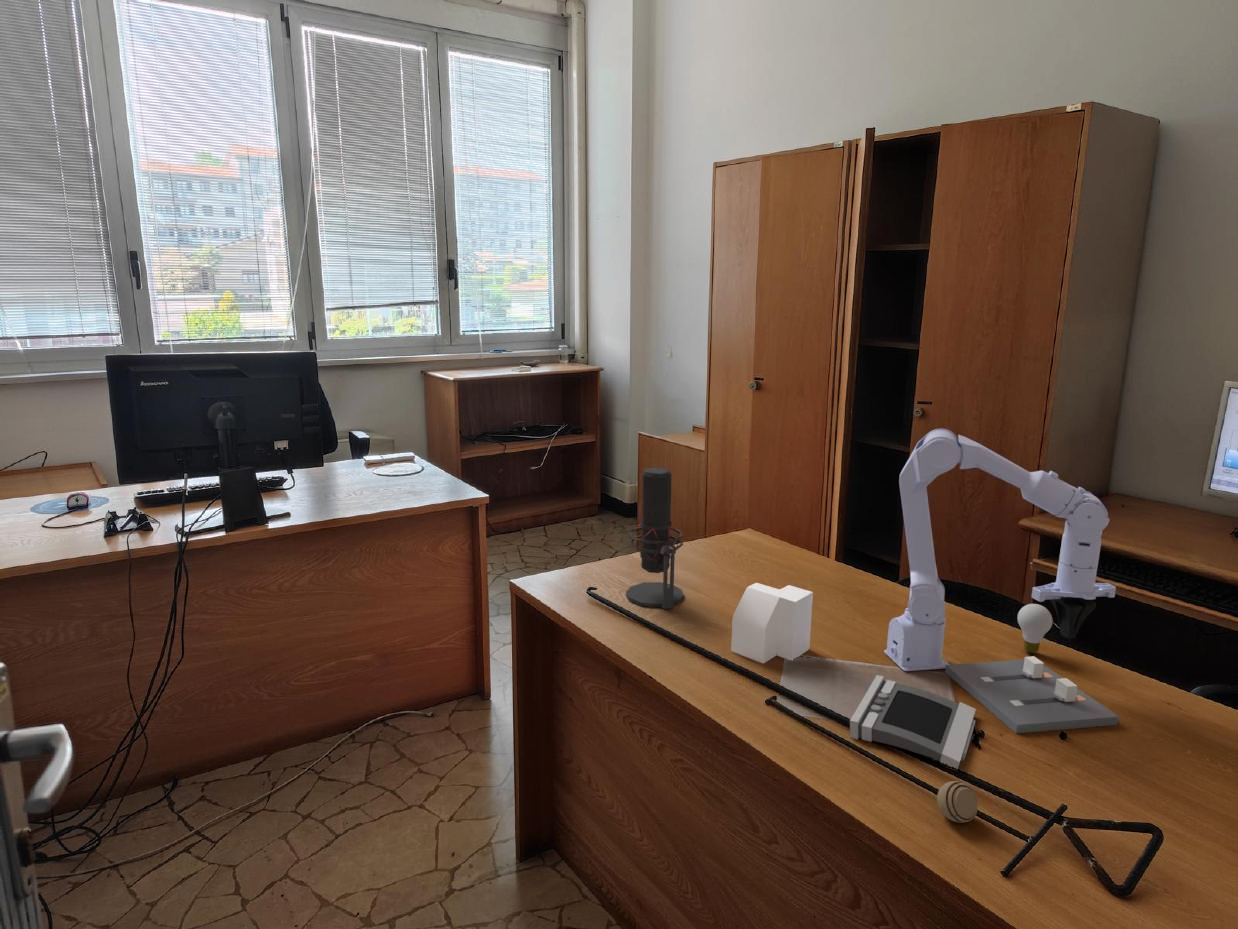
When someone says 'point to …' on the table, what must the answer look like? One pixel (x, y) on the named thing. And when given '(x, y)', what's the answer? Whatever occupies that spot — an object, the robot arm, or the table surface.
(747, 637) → the white chamfered block
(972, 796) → the door knob
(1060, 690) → the breaker
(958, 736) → the alarm clock
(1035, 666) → the breaker on
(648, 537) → the microphone
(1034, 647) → the light bulb
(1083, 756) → the table surface
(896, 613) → the table surface
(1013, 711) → the panel
